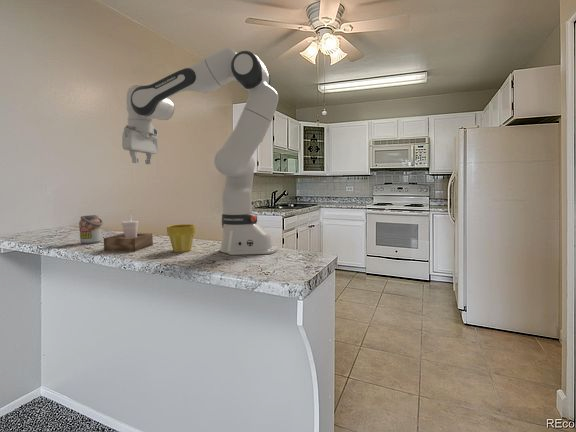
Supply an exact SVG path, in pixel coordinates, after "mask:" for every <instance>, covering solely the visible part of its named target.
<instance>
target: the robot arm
mask: <svg viewBox="0 0 576 432" xmlns="http://www.w3.org/2000/svg"><path fill="white" fill-rule="evenodd" d="M266 67H267V66H266V65H265V64H264V62H263V61H262V60H261V59H260V58H259V57H258V55H257V54H255V53H253V52H251V51H249V50H241V51H239V52H237V51H236V50H234V49H232V48H230V47H228V48H223V49H222V50H219V51H216V52H214V53H212V54H211V55H208V56H207V57H205V58H203V59H202V60H200V61H199V62H196V63H195V64H193V65H191V66H188V67H185V68H183V69H180V70H178V71H175V72H173V73H171V74H169V75H167V76H165V77H163V78H162V79H160V80H158V81H154V82H153V83H151V84H148V85H142V84H141V85H140V84H137V85H136V84H135V85H132V86H130V87H128V89H127V92H126V98H125V99H126V110H127V124H126V125H125V127H124V128H123V131H122V141H121V143H122V144H121V145H122V149H123V150H124V151H129V156H130V157H131V163H133V164H138V163H139V158H138V157H137V153H141V154H145V156H146V157H145V158H146V159H145V161H144V162H145V163H144V164H145V165H151V164H152V159H153V155H157V154H158V153H159V152H158V151H159V141H158V136H159V131H158V130H157V129H156V128H155V127H154V125H153V121H152V120H154V119H156V120H159V121H168V120H169V119H171V118H172V117H173V116H174V113H175V104H174V102H173V101H172V99H171V97H173V96H174V95H177V94H179V93H181V92H188V91H190V92H196V93H197V92H198V93H203V94H209V93H212V92H215V91H217V90H219V89H220V88H222V87H224V86H225V85H227V84H228V83H231V82H233V81H236V82H238V83H239V85H240V86H241V87H242V88H243V89H244V90H246V91H247V92H248V98H247V100H246V102H245V105H244V108H243V110H242V112H241V114H240V116H239V119H238V121H237V123H236V125H235V126H234V129H233V131H232V132H231V134H230V135H229V136H228V138H227V139H226V142H225V143H224V144H223V145H222V147H221V148H220V149H219V150H218V151H217V152H216V154H215V155H214V162H213V164H214V166H215V169H216V170H217V171H218V172H219V173H220V174H221V175H223V176H224V177H225V181H224V182H225V183H224V188H223V191H222V198H221V199H222V214H221V227H222V236H221V238H222V239H221V243H220V248H219V251H220V252H222V253H226V254H228V255H231V256H236V255H237V256H238V255H239V256H240V255H241V256H242V255H269V254H274V253H276V252H277V251H278V249H279V247H278V245H277V244H273V238H272V235H271V233H270V232H269V231H268V230H267V229H265V228H264V227H262V226H261V225H260V224H259V223H258V214H257V215H256V214H254V213H253V207H252V195H253V194H252V193H253V184H254V173H255V172H254V171H255V167H256V162H255V159H254V156H253V155H254V153H255V151H256V150H257V149H258V147H259V145H261V144H262V142H263V140H264V138H265V136H266V134H267V132H268V130H269V128H270V126H271V122H272V121H273V118H274V116H275V113H276V111H277V106H278V102H279V100H280V99H279V94H278V92H277V91H276V89H275V88H273V87H272V86H271V83H272V82H271V80H272V79H271V75H270V73H269V71H268V69H267V68H266Z"/></svg>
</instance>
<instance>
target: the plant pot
mask: <svg viewBox="0 0 576 432" xmlns="http://www.w3.org/2000/svg"><path fill="white" fill-rule="evenodd" d="M194 234H196V225H195V224H192V223H191V224H187V223H186V224H185V223H184V224H173V225H172V224H171V225H168V226H166V235H167V236H169V240H170V243H171V244H170V245H171V248H172V251H173V252H174V253H175V252H176V253H183V252H185V253H186V252H190V251H192V245H193V239H194V236H195V235H194Z"/></svg>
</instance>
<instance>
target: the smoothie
mask: <svg viewBox="0 0 576 432" xmlns="http://www.w3.org/2000/svg"><path fill="white" fill-rule="evenodd" d="M129 217H130V218H129V220H125V221H121V225H122V230H123V233H124V235H125V238H136V237H137V233H138V228H139V227H138V226H139V223H140V222H139V221H138V220H133V215H132V210H130V211H129Z"/></svg>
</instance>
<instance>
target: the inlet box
mask: <svg viewBox="0 0 576 432" xmlns="http://www.w3.org/2000/svg"><path fill="white" fill-rule="evenodd" d="M153 236H154V235H153V233H150V232H148V233H147V232H145V233H144V232H143V233H142V232H140V233H139V232H137V237H136V238H125V235H124V232H123V233H118V234H115V235H111V236H108V237H107V236H106V237H103V239H102V240H103V251H104V252H138V251H140V250H143V249H145V248H148V247H151V246H154V240H153Z"/></svg>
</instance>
